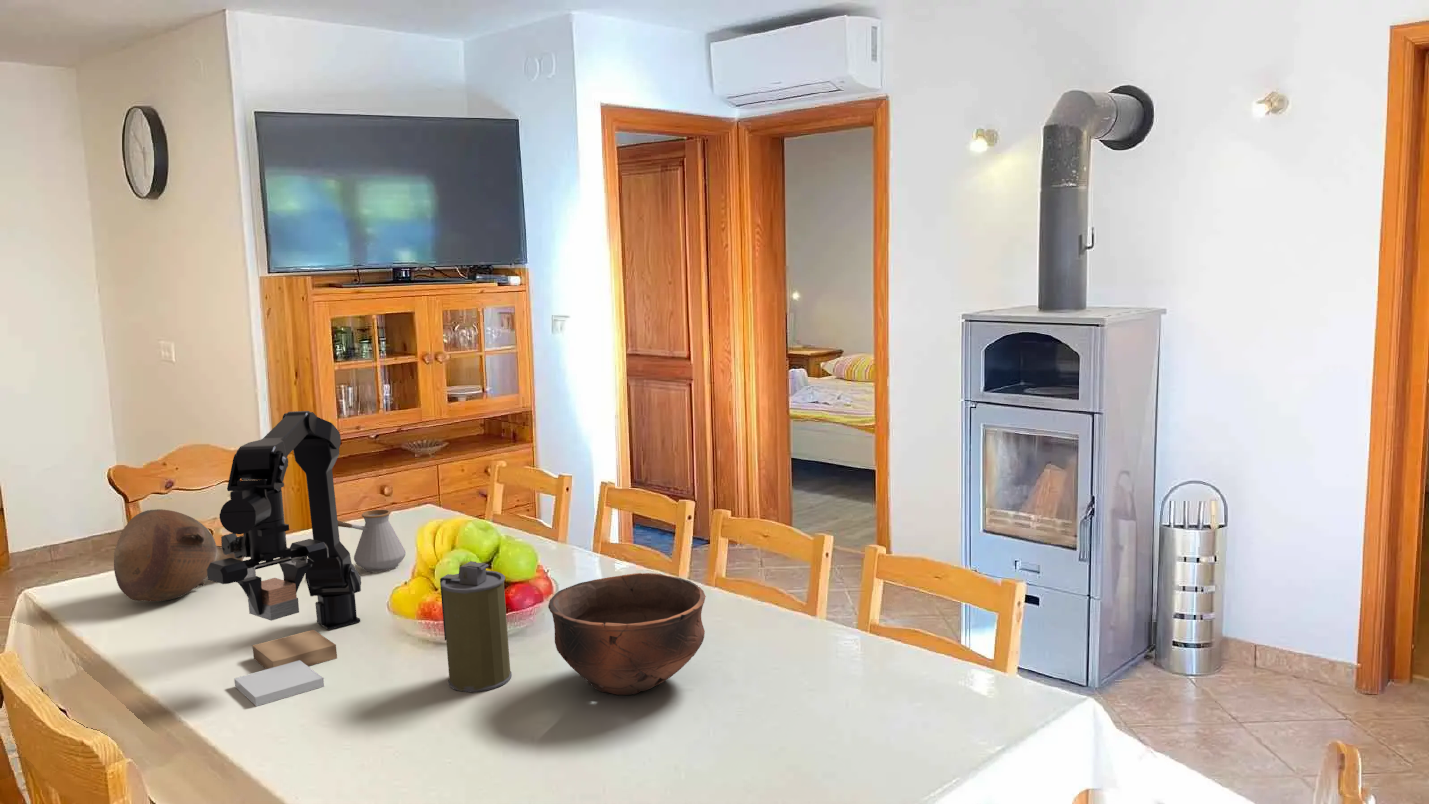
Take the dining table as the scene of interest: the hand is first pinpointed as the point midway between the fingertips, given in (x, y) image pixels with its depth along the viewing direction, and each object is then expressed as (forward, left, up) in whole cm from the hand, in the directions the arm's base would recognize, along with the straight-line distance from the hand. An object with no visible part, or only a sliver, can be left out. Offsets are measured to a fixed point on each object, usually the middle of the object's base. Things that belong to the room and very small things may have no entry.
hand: (274, 610), depth 181 cm
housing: (0, 0, -1) cm, 1 cm away
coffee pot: (-36, -51, -13) cm, 63 cm away
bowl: (-42, +44, -13) cm, 62 cm away
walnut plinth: (-6, -9, -13) cm, 17 cm away
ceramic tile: (+1, +2, -13) cm, 13 cm away
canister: (-25, +24, -13) cm, 37 cm away
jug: (-3, -67, -13) cm, 68 cm away
